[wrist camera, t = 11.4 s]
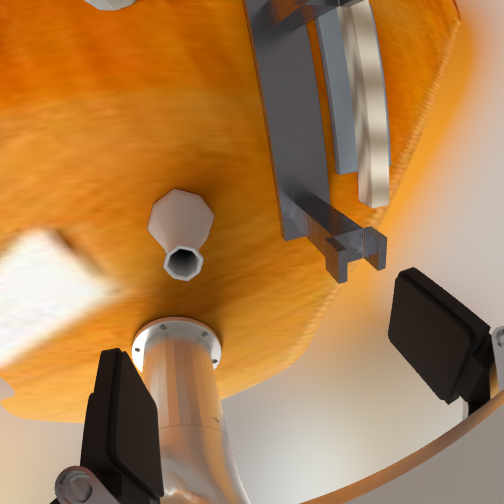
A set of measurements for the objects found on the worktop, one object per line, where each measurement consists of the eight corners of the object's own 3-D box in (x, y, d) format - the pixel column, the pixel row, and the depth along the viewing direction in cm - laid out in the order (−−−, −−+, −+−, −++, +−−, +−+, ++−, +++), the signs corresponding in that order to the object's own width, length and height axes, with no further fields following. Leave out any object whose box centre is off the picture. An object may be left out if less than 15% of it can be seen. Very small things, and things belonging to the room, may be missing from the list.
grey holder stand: (327, 225, 38) (389, 280, 26) (282, 237, 37) (332, 300, 25) (295, -2, 24) (359, -47, 13) (242, 0, 24) (283, -56, 12)
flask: (189, 261, 36) (196, 313, 27) (136, 230, 32) (123, 276, 24) (226, 212, 34) (245, 251, 25) (171, 176, 31) (170, 203, 22)
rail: (375, 197, 36) (388, 204, 34) (358, 200, 36) (372, 208, 33) (348, -20, 23) (361, -27, 20) (329, -22, 23) (341, -30, 20)
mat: (386, 164, 36) (390, 165, 35) (336, 172, 35) (340, 174, 34) (366, 7, 26) (370, 5, 25) (310, 2, 25) (314, 0, 24)
